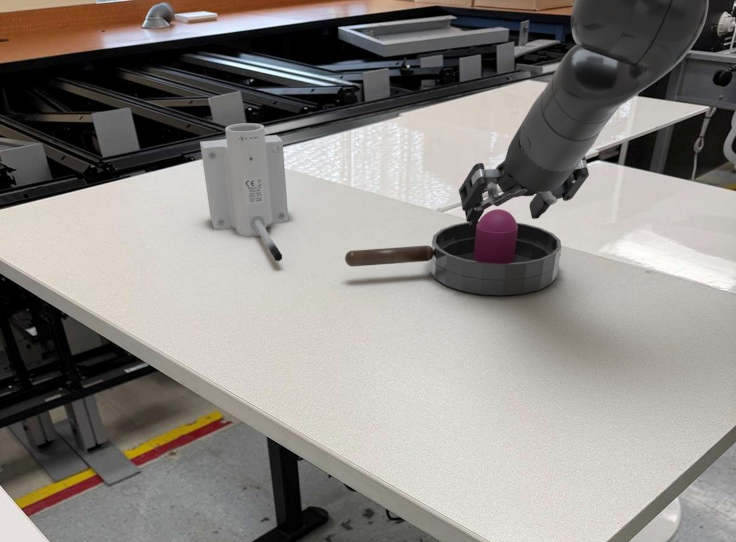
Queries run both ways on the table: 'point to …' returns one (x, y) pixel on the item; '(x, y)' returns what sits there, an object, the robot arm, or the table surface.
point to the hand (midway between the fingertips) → (501, 215)
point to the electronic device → (246, 181)
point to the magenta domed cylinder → (496, 237)
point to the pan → (525, 275)
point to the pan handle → (389, 256)
